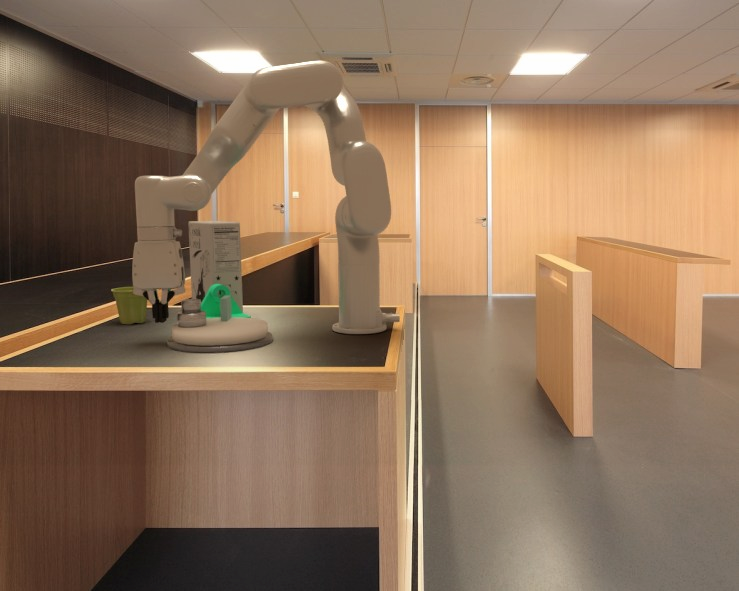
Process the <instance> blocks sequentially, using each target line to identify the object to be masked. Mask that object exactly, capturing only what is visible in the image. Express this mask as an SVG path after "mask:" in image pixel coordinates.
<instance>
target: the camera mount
mask: <svg viewBox="0 0 739 591" xmlns="http://www.w3.org/2000/svg"><path fill="white" fill-rule="evenodd" d="M219 290H221V295H220V296H219V297H218V296H217V292H218V291H219ZM223 296H231V295H230V291H229V289H228V288H227V287H226V286H224V285H221V284H214V285H212V286H211V287H210V288H209V290H208V292H207V294H206V295H205V297H204V299H203V301H202V303H201V310H202V311H206V318H220V317H221V309H220V299H221V298H222V297H223ZM231 315H232V317H244V318H252V317H251V316H252V315H250V314H249V315H248V314H246V313H244V311H243V312H242V311H241V309H240V308H239V306H238V305H237V303H236V302H235V301H234V299H233V298H232V296H231Z"/></svg>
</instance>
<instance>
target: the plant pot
mask: <svg viewBox="0 0 739 591" xmlns="http://www.w3.org/2000/svg"><path fill="white" fill-rule="evenodd" d="M133 289H134V286H123V287H117V288H111V290H110V291H111V293H112V295H113V298H114V299H115V304H116V308H117V314H118V318H119V323H120V324H122V325H132V324H133V325H134V324H135V323H137V324H142V323H146V321H147V311H148V310H147V307H148V300H147V299H146V298H145V297H144V296H140V295H135V294H134V293H133Z"/></svg>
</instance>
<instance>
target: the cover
mask: <svg viewBox="0 0 739 591" xmlns="http://www.w3.org/2000/svg"><path fill="white" fill-rule="evenodd" d="M180 303H181V311H178V312H176V321H177V323H176V324H177V326H178V327H181V328H195V327H202V326H206V325H207V324H206V311H202V310H201V300H200V299H192V298H189V299H188V298H187V299H182V300H180Z"/></svg>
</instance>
